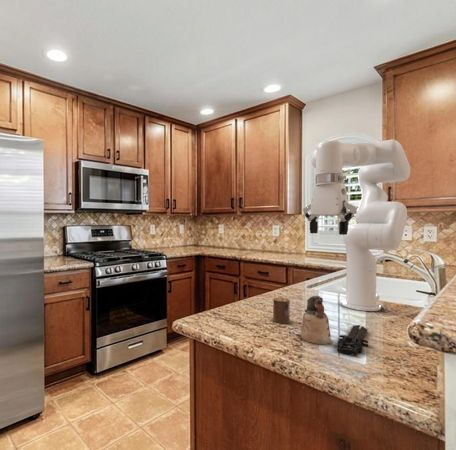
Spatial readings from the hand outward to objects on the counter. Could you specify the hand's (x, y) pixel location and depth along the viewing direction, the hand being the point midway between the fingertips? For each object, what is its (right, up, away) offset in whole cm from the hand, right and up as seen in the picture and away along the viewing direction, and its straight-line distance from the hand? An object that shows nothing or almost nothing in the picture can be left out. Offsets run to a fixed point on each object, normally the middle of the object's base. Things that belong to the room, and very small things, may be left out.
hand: (327, 233), depth 101 cm
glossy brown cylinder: (-15, -28, 0) cm, 32 cm away
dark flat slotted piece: (-1, -29, -15) cm, 32 cm away
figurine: (-12, -29, -15) cm, 35 cm away
